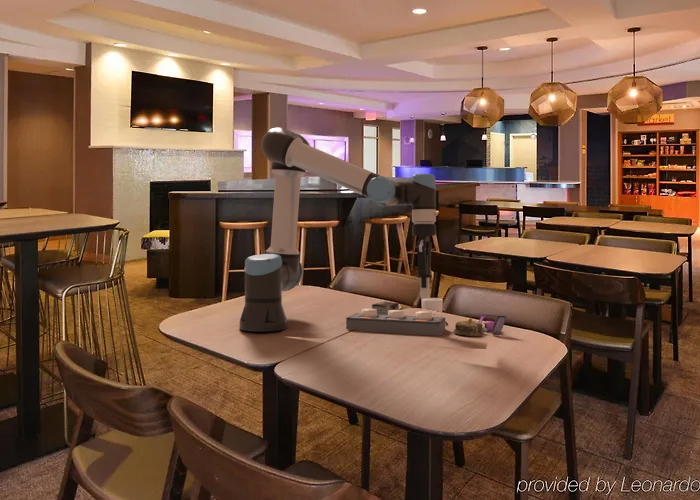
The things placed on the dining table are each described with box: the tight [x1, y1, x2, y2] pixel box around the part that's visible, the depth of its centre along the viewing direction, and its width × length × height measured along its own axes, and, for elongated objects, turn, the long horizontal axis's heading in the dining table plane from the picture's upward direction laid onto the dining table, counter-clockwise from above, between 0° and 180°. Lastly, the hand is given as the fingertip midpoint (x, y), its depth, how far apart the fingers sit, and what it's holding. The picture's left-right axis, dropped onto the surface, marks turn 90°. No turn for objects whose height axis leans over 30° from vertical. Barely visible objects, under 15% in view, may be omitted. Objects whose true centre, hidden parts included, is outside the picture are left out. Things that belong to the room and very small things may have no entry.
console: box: [345, 312, 446, 337], centre depth 178 cm, size 30×11×4 cm, turn 71°
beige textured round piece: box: [453, 317, 487, 337], centre depth 171 cm, size 10×10×5 cm
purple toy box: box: [478, 313, 508, 335], centre depth 177 cm, size 7×5×9 cm
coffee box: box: [371, 301, 400, 315], centre depth 199 cm, size 9×6×16 cm
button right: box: [415, 310, 433, 321], centre depth 175 cm, size 5×5×3 cm
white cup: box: [420, 297, 444, 313], centre depth 206 cm, size 8×8×10 cm
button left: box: [361, 308, 377, 318], centre depth 181 cm, size 5×5×3 cm
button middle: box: [388, 309, 405, 320], centre depth 178 cm, size 5×5×3 cm
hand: (424, 297), depth 175 cm, fingers closed
